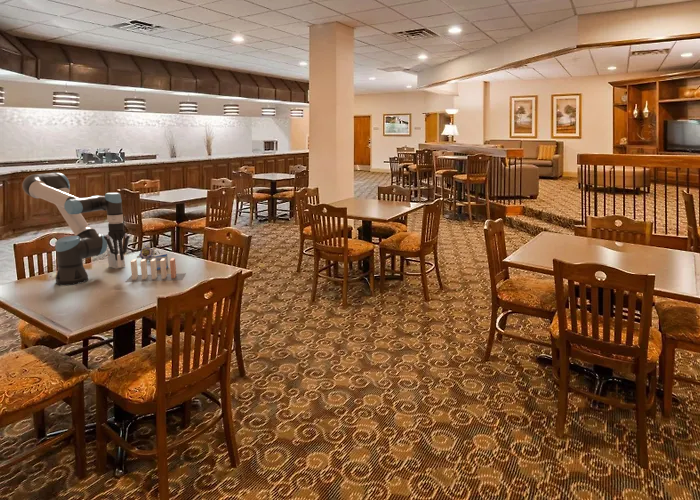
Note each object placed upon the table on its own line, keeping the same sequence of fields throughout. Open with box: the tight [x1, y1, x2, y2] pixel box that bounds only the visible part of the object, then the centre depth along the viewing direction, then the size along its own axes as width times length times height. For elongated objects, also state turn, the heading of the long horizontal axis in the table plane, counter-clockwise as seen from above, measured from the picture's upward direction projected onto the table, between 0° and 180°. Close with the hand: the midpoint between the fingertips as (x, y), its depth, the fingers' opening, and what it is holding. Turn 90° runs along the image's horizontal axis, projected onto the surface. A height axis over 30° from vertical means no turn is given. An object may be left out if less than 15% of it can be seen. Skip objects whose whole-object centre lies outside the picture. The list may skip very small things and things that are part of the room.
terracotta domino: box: [169, 257, 177, 278], centre depth 274 cm, size 2×5×10 cm, turn 9°
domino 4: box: [160, 258, 168, 279], centre depth 274 cm, size 2×5×10 cm, turn 9°
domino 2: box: [140, 258, 149, 279], centre depth 272 cm, size 2×5×10 cm, turn 9°
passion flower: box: [136, 245, 161, 264], centre depth 309 cm, size 11×11×12 cm
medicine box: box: [151, 252, 169, 271], centre depth 292 cm, size 8×4×9 cm, turn 143°
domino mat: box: [125, 273, 187, 283], centre depth 274 cm, size 29×13×1 cm, turn 99°
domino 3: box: [149, 259, 158, 279], centre depth 273 cm, size 2×5×10 cm, turn 9°
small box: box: [106, 247, 126, 270], centre depth 296 cm, size 8×6×10 cm
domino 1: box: [130, 258, 139, 280], centre depth 271 cm, size 2×5×10 cm, turn 9°
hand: (120, 266), depth 270 cm, fingers closed
